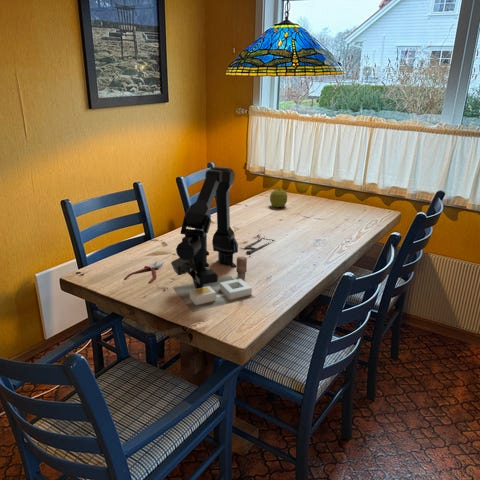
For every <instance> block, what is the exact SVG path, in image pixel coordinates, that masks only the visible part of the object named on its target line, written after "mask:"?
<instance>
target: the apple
mask: <svg viewBox="0 0 480 480" xmlns="http://www.w3.org/2000/svg"><path fill="white" fill-rule="evenodd" d="M269 201H270V203H271V206H272V207H274V208H276V207H281V208H284V207H285V206H286V204H287V202H288V193H287V191H285V189H282V188H281V189H280V188H279V189H275V190H273V191H272V192H271V193H270V195H269Z"/></svg>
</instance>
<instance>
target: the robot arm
mask: <svg viewBox="0 0 480 480" xmlns="http://www.w3.org/2000/svg"><path fill="white" fill-rule="evenodd" d="M235 173H236V172H235V171H234V170H233V169H232V167H223V166H214V167H213V168H212V169H207V170H206V172H205V178H204V180H203V183H202V186H201V188H200V191H199V194H198V196H197V199H196V201H195V202H193V203H192V204H191V205H190V206H189V207H188V209H187V210H186V212H185V214H184V216H183V222H182V223H181V230H180V235H184V237H182V238H181V242H179V243H178V244H177V246H176V250H175V251H176V255H177V257H178V258H177V259H174V260H172V261H171V263H170V264H171V266H172V269H173V270H174V272H175V274H177V276H182V275H185V274H186V273H187V274H188V275H189V276H190V277H191V278H192V281H193V283H194V285H195V289H197V288H202V287H203V285H204V284H209V283H214V282H217V281H218V278H219V275H218V274H217V273H216V272H215V271H214V270H213V269H208V268H209V267H210V264H209V262H208V260H207V258H208V257H207V256H210V252H209V250H208V248H207V247H208V241H207V240H208V239H207V238H208V237H207V236H208V233H209V230H210V227H211V224H212V215H211V211H210V209H211V207H212V203H213V202H214V198H216V199H215V203H216V222H217V223H216V225H217V228H216V231H215V232H214V233H213V235H212V239H211V240H212V241H211V242H212V243H211V244H212V250H213V252H217V253H218V257H217V258H218V260H217V261H218V262H217V263H218V264H220V265H222V266H226V267H231V268H235V267H236V268H237V264H236V263H234V256H233V255H235V254H236V253H238V252H239V244H238V242H237V239H236V238H235V232H234V230H233V228H231V221H230V220H231V219H230V218H231V217H230V214H231V213H230V211H231V210H230V189H231V188H232V187H233V185H234V181H235V176H236V175H235Z"/></svg>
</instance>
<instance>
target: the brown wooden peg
mask: <svg viewBox="0 0 480 480" xmlns="http://www.w3.org/2000/svg"><path fill="white" fill-rule="evenodd" d="M247 262H248V258H247V257H246V256H238V257H236V268H235V269H236V273H237V276H236V277H237V278H236V279H240V278H241V279H242V280H245V279H246V272H247Z"/></svg>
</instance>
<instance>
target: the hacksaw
mask: <svg viewBox="0 0 480 480" xmlns="http://www.w3.org/2000/svg"><path fill="white" fill-rule="evenodd" d="M257 237H258V239H257V241H254V242H252V243H250V244H248V245H246V246H242V247H240V249H241V250H245V249H246V250H247V249H249V250H247V251H246V252H245V254H247V255H251V254H253V253H255V252H256V251H257V252H258V250H260V249H262V248H264V247H266V246H268V245H269V244H267V243H268V242H266V243H264V244H263V245H260V246H259V247H253V246H254V245H256V244H258V243H260V242H261V241H263V240H265V239H266V240H267V241H270V240H272V241H274V240H275V239H272V238H271V239H269V238H266V237H264V238H263V237H260V235H259V234H257ZM259 237H260V238H261V239H260V238H259ZM259 239H260V240H259ZM262 239H263V240H262ZM274 242H275V241H274ZM250 249H251V250H250Z"/></svg>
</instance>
